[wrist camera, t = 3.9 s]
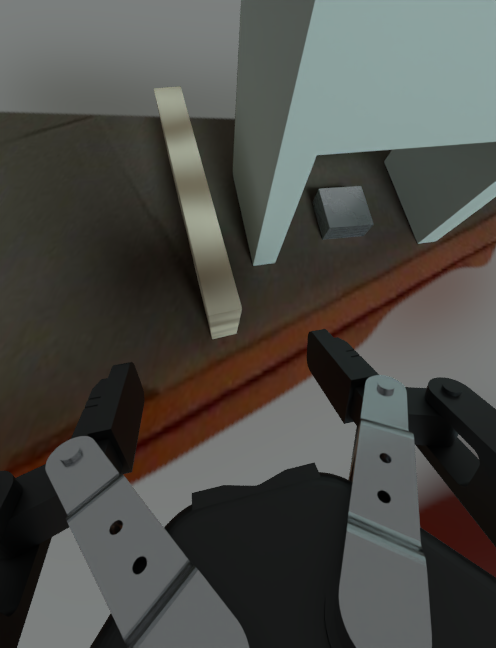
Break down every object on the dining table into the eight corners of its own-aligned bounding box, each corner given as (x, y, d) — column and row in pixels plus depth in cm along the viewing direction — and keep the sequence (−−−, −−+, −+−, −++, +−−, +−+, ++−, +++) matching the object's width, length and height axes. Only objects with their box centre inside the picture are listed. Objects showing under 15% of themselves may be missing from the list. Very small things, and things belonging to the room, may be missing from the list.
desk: (435, 241, 31) (822, -48, 11) (253, 265, 28) (332, -76, 8) (397, 153, 35) (641, -191, 14) (230, 166, 31) (247, -251, 11)
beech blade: (236, 334, 26) (242, 308, 19) (212, 339, 26) (208, 316, 18) (189, 158, 31) (180, 86, 24) (169, 160, 31) (153, 88, 24)
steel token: (362, 237, 31) (373, 224, 29) (321, 241, 30) (329, 228, 28) (351, 201, 32) (361, 186, 30) (311, 204, 31) (318, 188, 29)
